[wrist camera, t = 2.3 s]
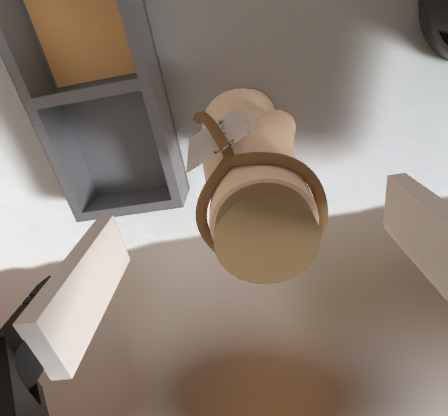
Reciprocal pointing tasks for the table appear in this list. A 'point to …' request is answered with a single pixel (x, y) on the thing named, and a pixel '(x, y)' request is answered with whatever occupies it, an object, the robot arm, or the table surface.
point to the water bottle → (256, 189)
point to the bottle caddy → (96, 102)
